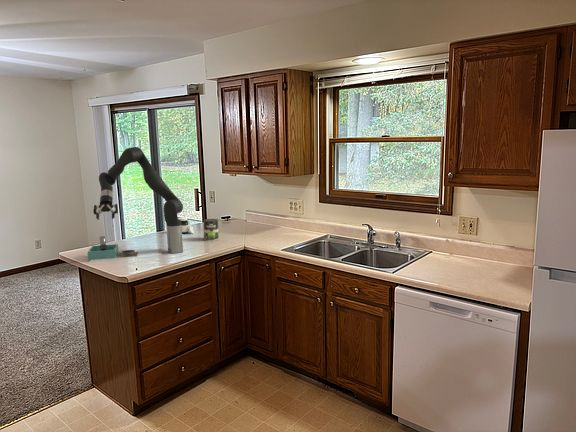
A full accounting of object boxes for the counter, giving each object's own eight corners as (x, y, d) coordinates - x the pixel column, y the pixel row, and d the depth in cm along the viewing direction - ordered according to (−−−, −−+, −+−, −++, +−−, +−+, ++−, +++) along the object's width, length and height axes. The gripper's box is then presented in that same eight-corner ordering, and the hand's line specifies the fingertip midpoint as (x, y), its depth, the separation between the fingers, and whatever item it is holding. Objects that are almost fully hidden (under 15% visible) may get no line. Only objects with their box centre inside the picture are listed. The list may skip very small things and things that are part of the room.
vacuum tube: (108, 254, 263) (107, 235, 261) (107, 256, 258) (105, 237, 256) (100, 255, 262) (98, 236, 260) (99, 257, 257) (97, 237, 255)
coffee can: (219, 240, 301) (218, 220, 299) (204, 241, 299) (203, 221, 297) (218, 237, 311) (217, 218, 309) (204, 238, 309) (203, 219, 307)
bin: (118, 253, 269) (118, 244, 268) (115, 259, 255) (114, 250, 254) (93, 255, 266) (92, 245, 264) (88, 261, 251) (87, 251, 250)
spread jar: (177, 232, 330) (176, 217, 328) (192, 231, 334) (191, 216, 332) (179, 235, 319) (178, 220, 317) (195, 234, 323) (194, 218, 321)
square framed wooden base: (138, 253, 268) (138, 248, 268) (136, 258, 258) (136, 253, 257) (119, 255, 266) (119, 250, 265) (117, 259, 255) (117, 254, 255)
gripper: (93, 195, 273) (92, 215, 264) (117, 194, 276) (116, 214, 267) (95, 202, 279) (94, 222, 270) (119, 201, 282) (118, 221, 273)
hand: (105, 218), depth 269 cm, fingers open, 8 cm apart
